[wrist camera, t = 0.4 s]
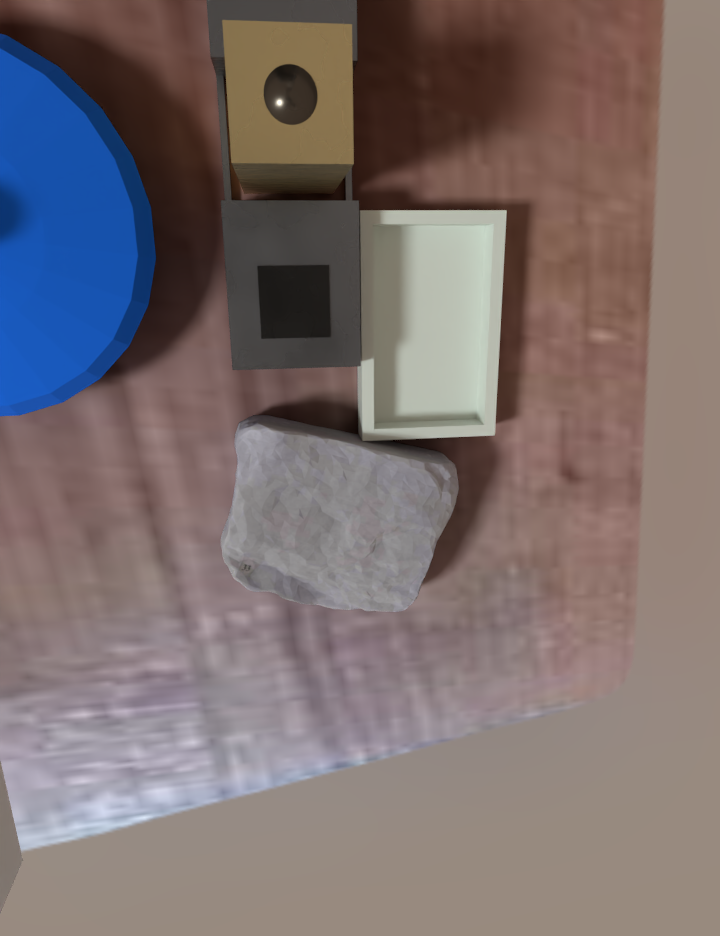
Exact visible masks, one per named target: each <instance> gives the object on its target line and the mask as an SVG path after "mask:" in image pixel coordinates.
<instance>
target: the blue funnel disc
mask: <svg viewBox="0 0 720 936" xmlns="http://www.w3.org/2000/svg"><path fill="white" fill-rule="evenodd" d="M155 261H156V253H155V243H154V233H153V223H152V213H151V206H150V203H149V201H148V198H147V195H146V192H145V189H144V187H143V184H142V181H141V178H140V175H139V173H138V170H137V167H136V164H135V161H134V159H133V156H132V155H131V153H130V151H129V150H128V148H127V147H126V145H125V144H124V142H123V141H122V139H121V138H120V136H119V134H118V133H117V131H116V130H115V128H114V127H113V125H112V124H111V122H110V121H109V119H108V117H107V116H106V114H105V113H104V111H103V110H102V108H101V107H100V106H99V105H98V104H97V103H96V102H95V101H94V100H93V99H92V98H91V97H89V96H88V95H87V94H86V93H85V92H84V91H83V90H82V89H81V88H80V87H79V86H78V85H77V84H76V83H75V82H74V81H73V80H72V79H71V78H70V77H69V76H68V75H67V74H66V73H65V72H64V71H63V70H62V69H61V68H60V67H58V66H57V65H55V64H53V63H52V62H50V61H48V60H47V59H45V58H44V57H42V56H40V55H39V54H37V53H35V52H34V51H32V50H30V49H29V48H27V47H25V46H24V45H22V44H20V43H19V42H17V41H15V40H14V39H12V38H10V37H9V36H7V35H3V34H0V416H15V415H22V414H25V413H29V412H32V411H35V410H39V409H42V408H46V407H49V406H52V405H56V404H59V403H62V402H64V401H66V400H67V399H69V398H71V397H72V396H74V395H75V394H77V393H78V392H80V391H82V390H83V389H85V388H86V387H88V386H90V385H91V384H93V383H94V382H96V381H98V380H99V379H101V377H102V376H103V375H104V374H105V373H106V372H107V371H108V369H109V368H110V367H111V366H112V365H113V364H114V363H115V362H116V360H117V359H118V358H119V357H120V356H121V355H122V354H123V352H124V351H125V350H126V349H127V348H128V347H129V346H130V343H131V341H132V339H133V337H134V335H135V333H136V331H137V328H138V326H139V324H140V322H141V320H142V318H143V316H144V313H145V311H146V309H147V307H148V305H149V299H150V292H151V286H152V280H153V274H154V267H155Z"/></svg>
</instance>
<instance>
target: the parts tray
mask: <svg viewBox="0 0 720 936" xmlns="http://www.w3.org/2000/svg"><path fill="white" fill-rule="evenodd" d="M506 214H507V210H360V211H359V250H360V342H361V366H357V369H358V433H359V435H360V437H361V439H362V441H377V440H401V439H424V438H447V437H471V436H494V435H495V423H496V404H497V385H498V366H499V347H500V328H501V309H502V290H503V271H504V252H505V233H506Z"/></svg>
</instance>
